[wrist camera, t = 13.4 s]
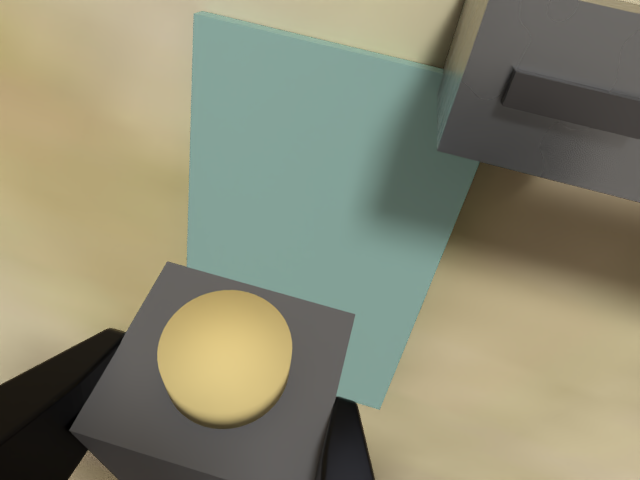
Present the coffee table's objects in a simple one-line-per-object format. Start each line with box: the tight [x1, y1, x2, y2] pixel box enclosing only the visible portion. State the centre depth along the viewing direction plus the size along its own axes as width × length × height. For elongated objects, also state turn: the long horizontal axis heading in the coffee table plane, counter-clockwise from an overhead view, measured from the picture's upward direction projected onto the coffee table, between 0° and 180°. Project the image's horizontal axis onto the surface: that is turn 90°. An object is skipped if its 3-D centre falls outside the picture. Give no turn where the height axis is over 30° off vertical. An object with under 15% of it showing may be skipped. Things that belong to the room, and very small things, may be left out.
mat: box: [187, 11, 480, 410], centre depth 17 cm, size 14×9×1 cm, turn 168°
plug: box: [69, 262, 355, 480], centre depth 11 cm, size 9×4×4 cm, turn 167°
